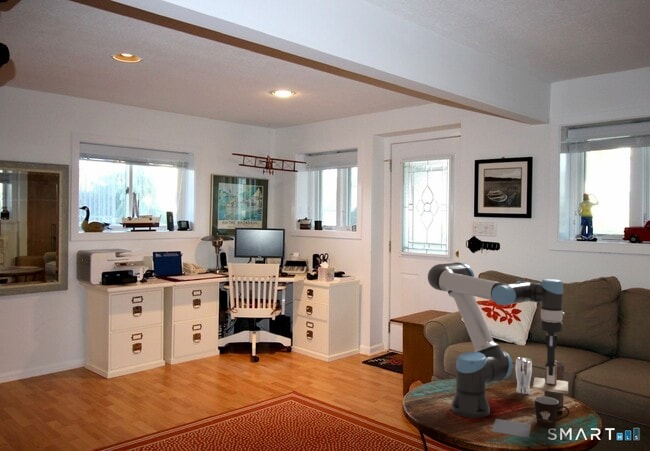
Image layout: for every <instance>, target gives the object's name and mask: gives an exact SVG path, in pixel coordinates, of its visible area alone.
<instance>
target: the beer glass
mask: <svg viewBox="0 0 650 451" xmlns="http://www.w3.org/2000/svg"><path fill="white" fill-rule="evenodd" d="M532 361H533V360H532V359H531V358H528V357H517V358H516V360H515V377H516V383H517V385H516V390H515V391H516V393H517V394H519V395H530V394H531V388H530V386H531V385H530V384H531V380H532V379H531V378H532V373H533V372H532V371H533V363H532Z"/></svg>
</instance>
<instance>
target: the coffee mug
mask: <svg viewBox="0 0 650 451" xmlns="http://www.w3.org/2000/svg"><path fill="white" fill-rule="evenodd" d="M533 401H534V407H535V408H534V409H535V416H536V417H535V419H536V425H538V427H540V428H544V429H554V428H555V427H556V423H557V422H558V421H561V420H563V419H565V418H566V417H568V416H569V415H570V409H569V407H567V406H565V405H563V406H560V407H558V404H559V401H558V400H556V399H554V398H551V397H545V396H543V395H542V396H541V395H540V396H539V395H538V396H536V397H534V399H533ZM560 408H563V409H565V410H567V414H565V415H564V416H560V417H559V418H557V417H558V416H557V415H558V412H559V411H558V410H559V409H560Z"/></svg>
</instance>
